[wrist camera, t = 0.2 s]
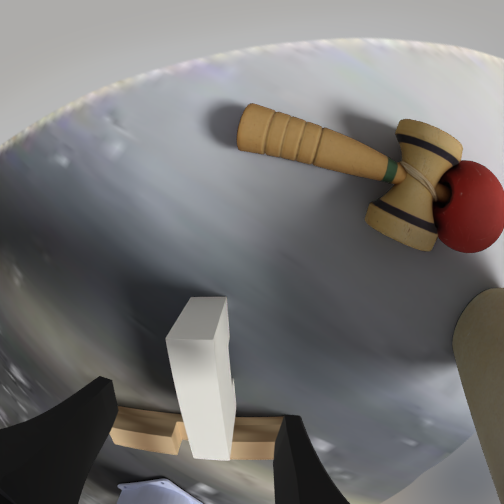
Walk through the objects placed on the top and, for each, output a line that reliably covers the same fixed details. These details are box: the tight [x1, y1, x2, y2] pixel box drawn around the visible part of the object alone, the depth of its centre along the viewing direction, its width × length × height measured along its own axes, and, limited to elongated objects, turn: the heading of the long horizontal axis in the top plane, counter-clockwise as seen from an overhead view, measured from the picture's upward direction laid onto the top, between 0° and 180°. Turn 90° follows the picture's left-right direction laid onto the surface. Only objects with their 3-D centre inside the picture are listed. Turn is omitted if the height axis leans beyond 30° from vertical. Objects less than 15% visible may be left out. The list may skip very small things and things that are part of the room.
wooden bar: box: [110, 406, 284, 460], centre depth 22 cm, size 16×2×3 cm, turn 92°
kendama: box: [237, 103, 504, 253], centre depth 16 cm, size 8×6×18 cm
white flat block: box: [165, 297, 236, 461], centre depth 18 cm, size 2×10×6 cm, turn 2°
